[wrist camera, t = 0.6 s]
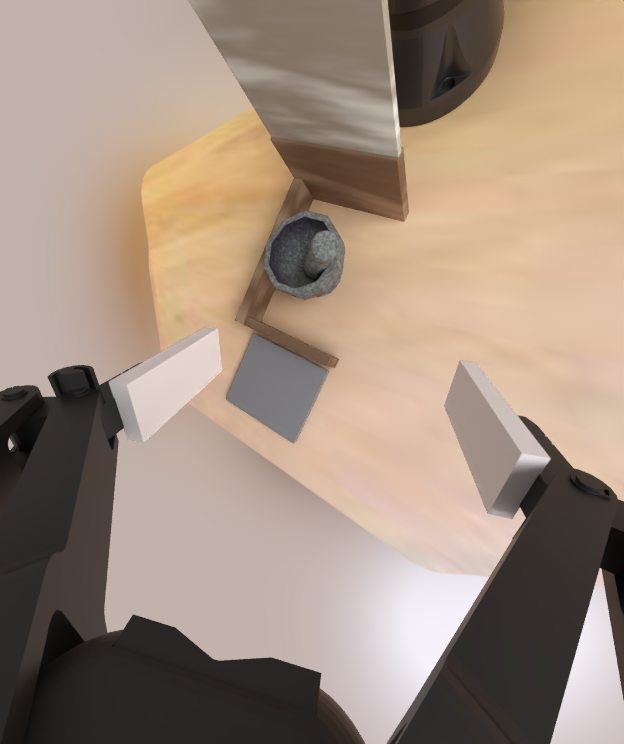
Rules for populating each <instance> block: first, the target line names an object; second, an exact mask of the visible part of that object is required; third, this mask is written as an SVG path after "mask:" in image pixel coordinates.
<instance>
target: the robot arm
mask: <svg viewBox="0 0 624 744" xmlns="http://www.w3.org/2000/svg"><path fill="white" fill-rule="evenodd" d="M388 10H389V21H390V31H391V42H392V53H393V64H394V74H395V85H396V96H397V106H398V117H399V126H414V125H420V124H424V123H427V122H430V121H433V120H435V119H438V118H440V117H442V116H444V115H446V114H447V113H449V112H451V111H452V110H454V109H455V108H456V107H458V106H459V105H460V104H462V103H463V102H464V101H465V100H466V99H467V98H469V97H470V96H471V95H472V94H473V92H474V91H475V90H476V89H477V88H478V87H479V86H480V84H481V83H482V82H483V80H484V79H485V77H486V76H487V74H488V72H489V71H490V69H491V67H492V65H493V63H494V60H495V57H496V54H497V51H498V47H499V42H500V37H501V33H502V28H503V21H504V4H503V0H388ZM221 371H222V364H221V355H220V345H219V335H218V328H211V327H204V328H202V329H201V330H199V331H197V332H195V333H193V334H192V335H190V336H188V337H186V338H185V339H183V340H181V341H179V342H178V343H176V344H174V345H172V346H171V347H169V348H167V349H165V350H163V351H162V352H160V353H158V354H156V355H155V356H153V357H151V358H149V359H148V360H146V361H144V362H141V363H139V364H137V365H135V366H133V367H131V368H130V369H128V370H126V371H124V372H123V373H122V374H119V375H117V376H115V377H114V378H112V379H110V380H108V381H106V382H105V383H103V384H101V385H99V383H98V381H97V378H96V375H95V372H94V369H93V367H91V366H86V365H78V366H71V367H66V368H62V369H60V370H57V371H55V372H53V373H51V374H50V375H49V376H48V379H49V381H50V383H51V386H52V388H53V390H54V392H55V395H56V397H42V395H41V393H40V391H39V389H38V387H36V386H30V385H28V386H27V385H25V386H15V387H13V388H12V387H11V388H7V389H5V390H4V391H1V392H0V744H365V742H364V740H363V739H362V737H361V735H360V734H359V732H358V730H357V729H356V727H355V726H354V724H353V722H352V721H351V720H350V719H349V717H348V716H347V715H346V713H345V712H344V711H343V709H342V708H341V707H340V706H339V705H338V704H337V703H336V702H335V701H334V700H333V699H332V698H331V697H330V696H329V695H328V694H326V693H325V692H324V691H323V690H321V689H320V679H321V673H319V672H316V671H313V670H309V669H306V668H303V667H300V666H297V665H293V664H290V663H287V662H284V661H281V660H278V659H274V658H256V659H240V660H224V661H218V660H214V659H212V658H211V657H210V656H208V655H207V654H206V653H205V652H204V651H202V650H201V649H200V648H199V647H198V646H197V645H195V644H194V643H193V642H192V641H190V640H189V639H188V638H187V637H186V636H185V635H183V634H182V633H181V632H180V631H179V630H178V629H176V628H175V627H171V626H168V625H165V624H162V623H159V622H155V621H152V620H149V619H146V618H143V617H139V616H136V615H133V616H132V617H131V619H130V620H129V622H128V623H127V625H126V627H125V628H124V630H119V631H114V632H110V633H107V628H106V623H105V616H104V604H105V592H106V581H107V568H108V558H109V546H110V534H111V523H112V511H113V500H114V487H115V476H116V465H117V453H118V438H117V435H116V434H117V433H118V432H119V431H120V430H122V429H123V428H124V431H125V433H126V437H127V439H128V440H132V441H137V442H143V443H144V442H145V441H146V440H147V439H148V438H150V437H151V436H152V435H153V434H154V433H155V432H156V431H157V430H158V429H159V428H161V427H162V426H163V425H164V424H165V423H166V422H167V421H168V420H169V419H170V418H171V417H173V416H174V415H175V414H176V413H177V412H178V411H179V410H180V409H181V408H182V407H183V406H184V405H186V403H188V402H189V401H190V400H191V399H192V398H193V397H194V396H195V395H196V394H198V393H199V392H200V391H201V390H202V389H203V388H204V387H205V386H206V385H207V384H208V383H210V382H211V381H212V380H213V379H214V378H215V377H216V376H217V375H218V374H219V373H220V372H221ZM444 406H445V409H446V411H447V414H448V416H449V419H450V421H451V424H452V426H453V429H454V431H455V434H456V436H457V439H458V441H459V444H460V446H461V449H462V451H463V454H464V456H465V459H466V461H467V464H468V466H469V468H470V471H471V473H472V476H473V478H474V481H475V483H476V486H477V488H478V491H479V493H480V496H481V498H482V501H483V503H484V506H485V508H486V511H487V513H488V514H491V515H496V516H501V517H505V518H510V519H513V517H514V515H515V514H516V512H517V511H518V509H519V508H521V509H522V511H523V513H524V515H525V517H526V519H525V521H524V522H523V524H522V525H521V527H520V528H519V529H518V531H517V532H516V534H515V535H514V537H513V538H512V539H513V540H512V541H511V543H510V545H509V546H508V548H507V550H506V551H505V553H504V554H503V556H502V558H501V559H500V561H499V563H498V564H497V566H496V568H495V569H494V571H493V572H492V574H491V576H490V577H489V579H488V581H487V583H486V584H485V586H484V587H483V589H482V590H481V592H480V594H479V595H478V597H477V599H476V600H475V602H474V603H473V605H472V607H471V609H470V610H469V612H468V613H467V615H466V617H465V618H464V620H463V622H462V623H461V625H460V626H459V628H458V630H457V631H456V633H455V635H454V636H453V638H452V639H451V641H450V643H449V644H448V646H447V648H446V649H445V651H444V652H443V654H442V656H441V657H440V659H439V661H438V662H437V664H436V666H435V667H434V669H433V670H432V672H431V674H430V676H429V677H428V679H427V680H426V682H425V683H424V685H423V687H422V688H421V690H420V692H419V693H418V695H417V697H416V698H415V700H414V702H413V703H412V705H411V706H410V708H409V709H408V711H407V713H406V714H405V716H404V717H403V719H402V720H401V722H400V724H399V725H398V727H397V728H396V730H395V731H394V733H393V735H392V736H391V738H390V739H389V741H388V742H387V744H550V742H551V739H552V735H553V732H554V728H555V724H556V721H557V717H558V714H559V710H560V707H561V703H562V699H563V696H564V692H565V689H566V685H567V681H568V678H569V674H570V671H571V667H572V664H573V660H574V657H575V653H576V650H577V646H578V643H579V639H580V635H581V632H582V628H583V625H584V621H585V618H586V614H587V611H588V607H589V603H590V600H591V596H592V593H593V589H594V586H595V582H596V579H597V575H598V571H599V568H601V569H602V574H603V579H604V585H605V591H606V597H607V603H608V609H609V615H610V621H611V627H612V633H613V639H614V645H615V651H616V656H617V663H618V668H619V675H620V681H621V687H622V692H623V699H624V501H621V500H618V499H617V495H616V494H615V493H614V492H613V490H612V489H611V488H610V487H609V486H607V485H606V484H605V483H604V482H602V481H601V480H599V479H597V478H596V477H594V476H592V475H591V474H588V473H586V472H583V471H581V470H578V469H573V467H572V466H571V465H570V464H569V463H568V461H567V460H566V459H565V458H564V457H563V455H562V454H561V453H560V452H559V451H558V449H557V448H556V447H555V446H554V445H552V442H551V441H550V440H549V439H548V438H547V437H545V434H544V433H543V432H542V430H541V429H540V428H539V427H538V426H537V425H536V424H534V423H533V422H532V421H530V420H529V419H527V418H526V417H523V416H517V414H516V413H515V412H514V411H513V409H512V408H511V407H510V405H509V404H508V403H507V402H506V400H505V399H504V398H503V396H502V395H501V394H500V393H499V391H498V390H497V389H496V387H495V386H494V385H493V384H492V382H491V381H490V380H489V378H488V377H487V376H486V375H485V373H484V372H483V371H482V369H481V368H480V367H479V366H478V364H477V363H476V362H469V361H462V360H460V361H459V364H458V367H457V370H456V373H455V376H454V378H453V381H452V384H451V387H450V390H449V393H448V396H447V399H446V401H445V404H444ZM9 438H10V439H11V441H12V443H13V445H14V447H13V448H12V449H11V450H9V448H8V439H9Z"/></svg>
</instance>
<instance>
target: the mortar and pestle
mask: <svg viewBox="0 0 624 744" xmlns="http://www.w3.org/2000/svg"><path fill="white" fill-rule="evenodd" d="M344 254H345V247H344V242H343V241H342V239H341V237H340V235H339V234H338V232H337V230H336V229H335V227H334V226H333V224H332V222H331V221H330V219H329V217H328V216H326V215H322V214H318V213H313V212H309V211H303V212H301V213H298V214H296V215H294V216H292V217H290V218H288V219H285V220H283V221H282V222H281V223H280V225H279V226H278V228H277V229H276V230H275V232H274V233H273V235H272V236H271V237H270V239H269V240H268V242H267V246H266V254H265V262H264V268H265V270H266V272H267V274H268V276H269V278H270V280H271V282H272V284H273V286H274V287H275V288H277V289H278V290H280V291H282V292H285V293H288V294H290V295H293V296H295V297H298V298H301V299H304V300H306V299H309V298H312V297H315V296H316V297H320V296H323V295H326V294H329V293H331V292H332V291H333V290H334V288H335V287H336V286H337V285H338V283H339V282H340V279H341V274H342V270H343V262H344Z"/></svg>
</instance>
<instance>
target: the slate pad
mask: <svg viewBox="0 0 624 744" xmlns="http://www.w3.org/2000/svg"><path fill="white" fill-rule="evenodd" d="M328 373H329V371H327V370H325V369H324V368H322V367H320V366H318V365H316V364H314V363H312V362H310V361H308V360H306V359H304V358H302V357H300V356H298V355H296V354H294V353H292V352H290V351H288V350H286V349H284V348H282V347H280V346H278V345H276V344H274V343H272V342H270V341H269V340H267V339H265V338H263V337H261V336H259V335H257V334H254V333H253V336H252V338H251V341H250V343H249V345H248V348H247V350H246V352H245V355H244V357H243V359H242V362H241V364H240V366H239V369H238V371H237V373H236V376H235V378H234V380H233V383H232V385H231V388H230V390H229V392H228V395H227V397H226V399H227V400H228V401H230V402H231V403H233V404H234V405H236V406H237V407H239V408H240V409H242V410H243V411H245V412H246V413H248V414H249V415H251V416H252V417H254V418H255V419H257V420H259V421H260V422H262V423H263V424H265V425H266V426H268V427H269V428H271V429H272V430H274V431H275V432H277V433H278V434H280V435H281V436H283V437H284V438H286V439H288V440H289V441H291V442H292V443H295V442H296V441H297V439H298V436H299V434H300V432H301V430H302V428H303V426H304V424H305V422H306V420H307V417H308V415H309V413H310V411H311V409H312V407H313V405H314V403H315V400H316V398H317V396H318V394H319V392H320V390H321V388H322V386H323V384H324V381H325V379H326V377H327V375H328Z"/></svg>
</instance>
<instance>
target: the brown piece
mask: <svg viewBox="0 0 624 744" xmlns="http://www.w3.org/2000/svg"><path fill="white" fill-rule="evenodd" d="M188 1H189V2H190V4H191V6H192V7H193V9H194V10H195V12H196V14H197V15H198V17H199V19H200V20H201V22H202V24H203V25H204V27H205V28H206V30H207V32H208V33H209V35H210V37H211V38H212V40H213V41H214V43H215V45H216V46H217V48H218V50H219V51H220V53H221V55H222V56H223V58H224V60H225V61H226V63H227V64H228V66H229V68H230V69H231V71H232V73H233V74H234V76H235V77H236V79H237V81H238V82H239V84H240V86H241V87H242V89H243V91H244V92H245V94H246V96H247V97H248V99H249V100H250V102H251V104H252V105H253V107H254V109H255V110H256V112H257V114H258V115H259V117H260V119H261V120H262V122H263V123H264V125H265V127H266V128H267V130H268V132H269V133H270V135H271V141H272V143H273V144H274V146H275V147H276V149H277V151H278V152H279V154H280V155H281V157H282V159H283V160H284V162H285V164H286V165H287V167H288V168H289V170H290V172H291V173H292V175H293V176H294V179H293V182H292V184H291V187H290V189H289V191H288V194H287V196H286V199H285V201H284V203H283V206H282V208H281V211H280V213H279V216H278V218H277V220H276V223H275V225H274V228H273V230H272V232H271V235H270V237H271V236H272V235H273V233H274V232H275V230H276V229H277V228H278V226H279V225H280V223H281V222H282V221H283V220H285V219H288V218H290V217H292V216H294V215H296V214H298V213H301V212H303V211H308V210H309V208H310V205H311V203H312V200H313V199H316V200H320V201H324V202H328V203H332V204H336V205H340V206H344V207H348V208H352V209H356V210H360V211H364V212H368V213H372V214H376V215H380V216H384V217H388V218H392V219H396V220H400V221H405V219H406V217H407V215H408V213H409V210H408V198H407V186H406V175H405V163H404V151H403V147H401V138H400V128H399V117H398V106H397V96H396V85H395V74H394V64H393V53H392V42H391V31H390V21H389V10H388V0H188ZM270 237H269V239H270ZM266 246H267V245H266ZM265 254H266V247H265V249H264V252H263V254H262V257H261V259H260V261H259V264H258V266H257V269H256V271H255V274H254V276H253V278H252V281H251V283H250V286H249V288H248V290H247V293H246V295H245V298H244V300H243V302H242V305H241V307H240V310H239V312H238V315H237V317H236V319H235V321H237V322H239V323H241V324H244V325H246V326H248V327H250V328H252V329H254V330H256V331H258V332H260V333H262V334H264V335H266V336H268V337H270V338H272V339H274V340H276V341H278V342H280V343H282V344H284V345H286V346H288V347H290V348H292V349H294V350H296V351H298V352H300V353H302V354H304V355H306V356H308V357H310V358H312V359H314V360H316V361H318V362H320V363H322V364H324V365H326V366H329V367H334V368H335V366H336V364H337V362H338V360H339V359H337V358H335V357H333V356H330V355H328V354H326V353H324V352H322V351H320V350H318V349H316V348H314V347H312V346H310V345H308V344H306V343H304V342H302V341H299V340H297V339H295V338H293V337H291V336H289V335H287V334H285V333H283V332H281V331H279V330H277V329H275V328H273V327H271V326H268V325H266V324H264V323H262V322H261V320H262V318H263V315H264V313H265V311H266V308H267V306H268V304H269V301H270V299H271V297H272V294H273V292H274V289H275V287H274V286H273V284H272V282H271V280H270V278H269V276H268V274H267V272H266V270H265V268H264V262H265Z"/></svg>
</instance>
